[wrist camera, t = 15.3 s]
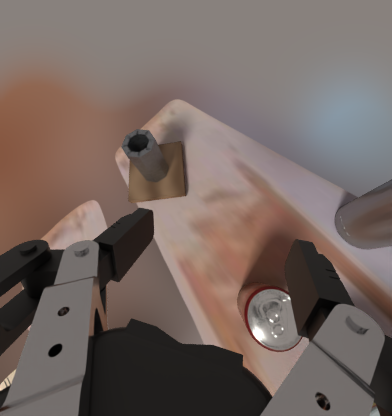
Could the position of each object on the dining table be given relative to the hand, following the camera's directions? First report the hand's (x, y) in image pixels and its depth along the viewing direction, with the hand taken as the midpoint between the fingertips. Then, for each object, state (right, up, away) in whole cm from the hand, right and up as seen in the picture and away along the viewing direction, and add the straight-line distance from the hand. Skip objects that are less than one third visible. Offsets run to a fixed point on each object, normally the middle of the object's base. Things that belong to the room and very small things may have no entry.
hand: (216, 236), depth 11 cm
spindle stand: (-10, +10, +35) cm, 38 cm away
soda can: (+10, -16, +24) cm, 30 cm away
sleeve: (-11, +10, +34) cm, 37 cm away
